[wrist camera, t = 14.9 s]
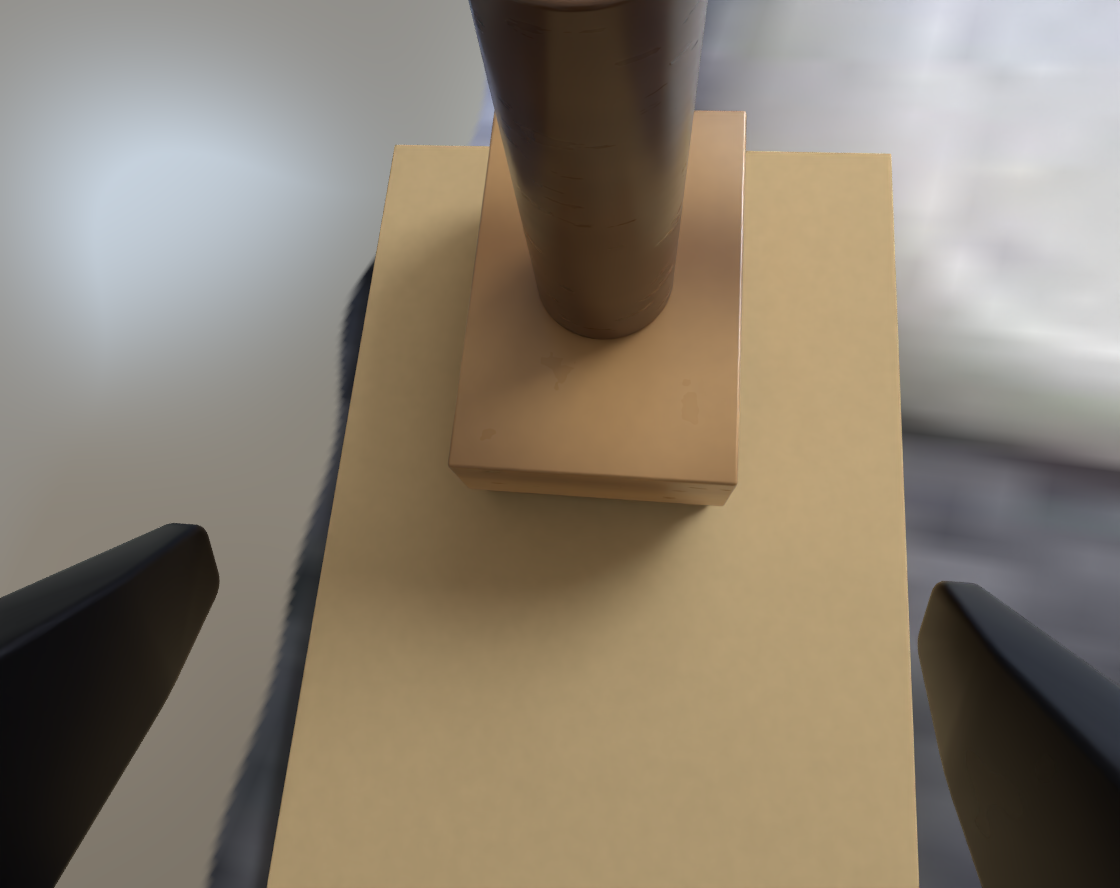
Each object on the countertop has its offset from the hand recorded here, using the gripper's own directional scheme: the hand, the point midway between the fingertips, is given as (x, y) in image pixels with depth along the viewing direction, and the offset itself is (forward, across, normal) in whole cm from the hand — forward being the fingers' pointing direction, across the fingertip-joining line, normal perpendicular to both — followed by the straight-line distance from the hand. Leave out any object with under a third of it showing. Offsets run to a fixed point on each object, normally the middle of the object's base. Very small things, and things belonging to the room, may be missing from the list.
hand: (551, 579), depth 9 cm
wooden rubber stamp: (+11, 0, +1) cm, 11 cm away
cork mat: (+8, 0, +5) cm, 9 cm away
